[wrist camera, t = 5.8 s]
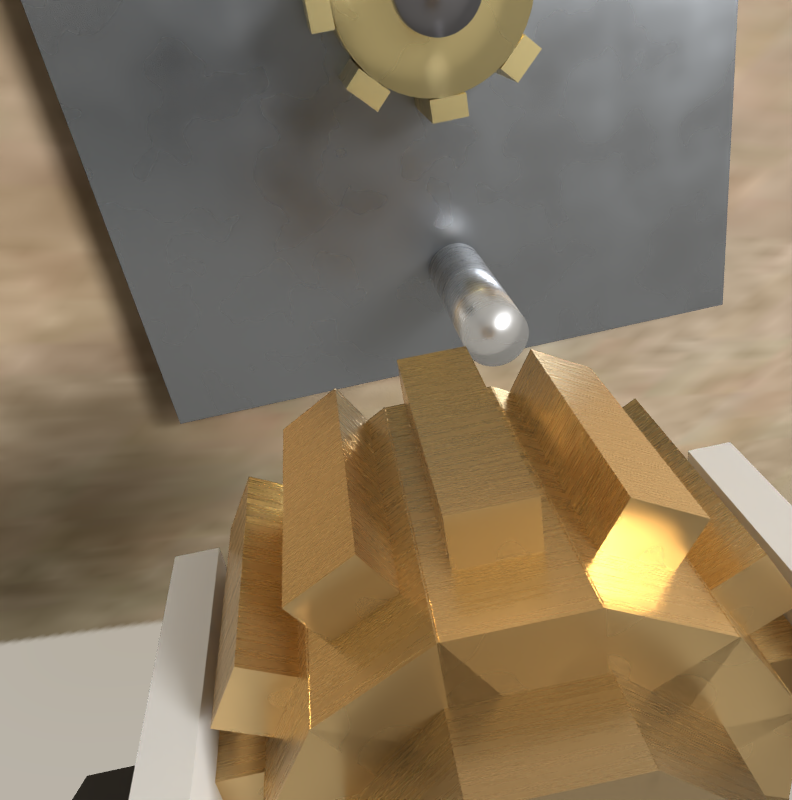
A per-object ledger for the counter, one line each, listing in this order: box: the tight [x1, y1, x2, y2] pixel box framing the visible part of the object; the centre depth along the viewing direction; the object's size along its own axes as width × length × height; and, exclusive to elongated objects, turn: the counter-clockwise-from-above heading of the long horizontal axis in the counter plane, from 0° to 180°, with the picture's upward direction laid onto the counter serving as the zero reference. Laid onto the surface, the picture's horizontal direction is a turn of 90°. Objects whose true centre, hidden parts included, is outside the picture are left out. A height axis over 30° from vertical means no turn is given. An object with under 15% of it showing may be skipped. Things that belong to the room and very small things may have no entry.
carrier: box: [21, 0, 738, 424], centre depth 19 cm, size 22×21×8 cm
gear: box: [210, 346, 792, 800], centre depth 11 cm, size 8×8×6 cm
